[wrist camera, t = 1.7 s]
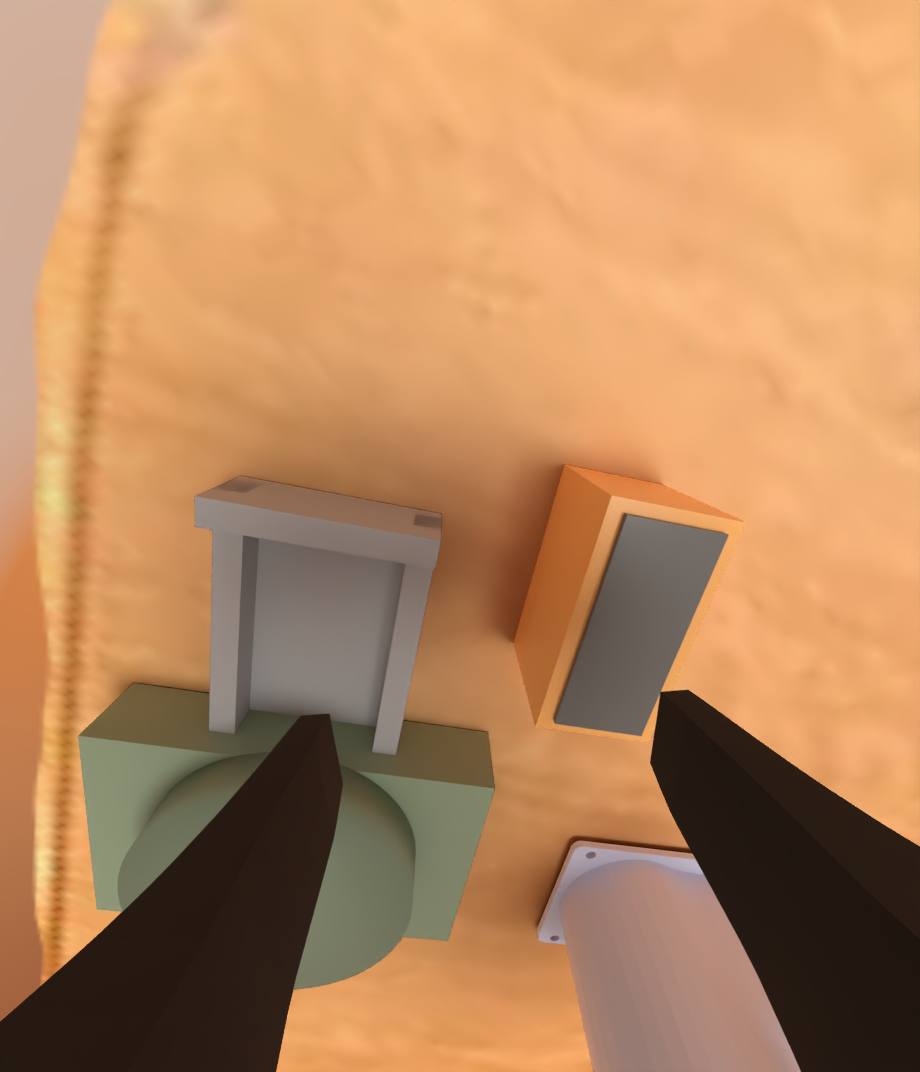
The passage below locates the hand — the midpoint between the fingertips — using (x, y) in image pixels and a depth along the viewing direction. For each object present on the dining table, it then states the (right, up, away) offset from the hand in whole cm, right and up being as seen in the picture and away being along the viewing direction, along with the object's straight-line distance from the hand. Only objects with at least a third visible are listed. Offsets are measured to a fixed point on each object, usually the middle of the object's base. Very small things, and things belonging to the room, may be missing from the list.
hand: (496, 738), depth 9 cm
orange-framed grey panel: (+4, +3, +8) cm, 10 cm away
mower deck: (-7, -3, +10) cm, 13 cm away
